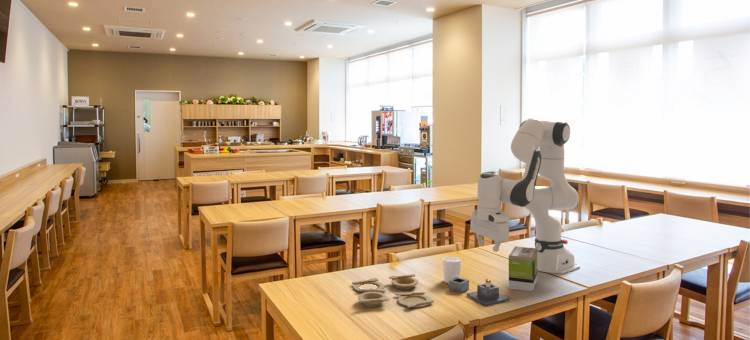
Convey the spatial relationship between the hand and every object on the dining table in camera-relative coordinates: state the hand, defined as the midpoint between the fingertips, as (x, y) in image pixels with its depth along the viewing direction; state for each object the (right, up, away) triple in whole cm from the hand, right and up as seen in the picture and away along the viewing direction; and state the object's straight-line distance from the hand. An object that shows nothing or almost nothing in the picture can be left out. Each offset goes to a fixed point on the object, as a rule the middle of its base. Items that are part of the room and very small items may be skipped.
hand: (488, 248), depth 192 cm
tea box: (+19, -19, +17) cm, 32 cm away
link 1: (-10, -19, +12) cm, 25 cm away
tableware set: (-38, -21, +8) cm, 44 cm away
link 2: (0, -19, +2) cm, 20 cm away
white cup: (-11, -18, +22) cm, 31 cm away
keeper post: (0, -20, +2) cm, 21 cm away
